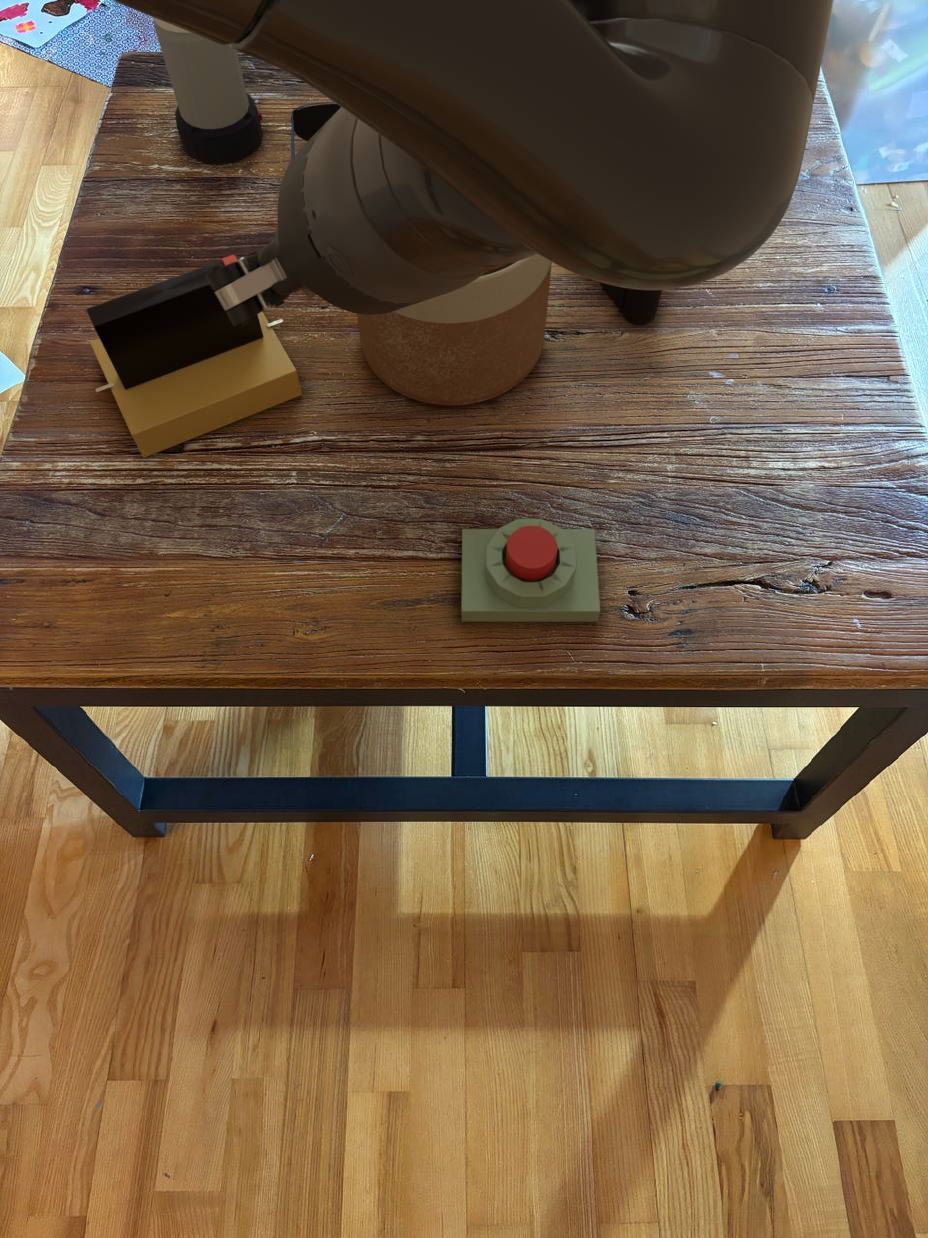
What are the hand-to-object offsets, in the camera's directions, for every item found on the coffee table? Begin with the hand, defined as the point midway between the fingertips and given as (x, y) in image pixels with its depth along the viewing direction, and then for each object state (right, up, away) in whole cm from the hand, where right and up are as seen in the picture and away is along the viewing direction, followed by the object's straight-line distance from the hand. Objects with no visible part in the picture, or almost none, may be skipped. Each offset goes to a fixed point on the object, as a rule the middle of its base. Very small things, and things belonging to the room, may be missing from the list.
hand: (285, 271), depth 51 cm
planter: (+9, +5, +29) cm, 31 cm away
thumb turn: (-13, +2, +25) cm, 28 cm away
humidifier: (-15, +29, +42) cm, 53 cm away
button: (+15, -15, +16) cm, 26 cm away
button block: (+15, -16, +18) cm, 29 cm away
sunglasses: (+2, +22, +38) cm, 44 cm away
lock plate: (-13, +1, +27) cm, 30 cm away
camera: (+25, +12, +33) cm, 43 cm away
